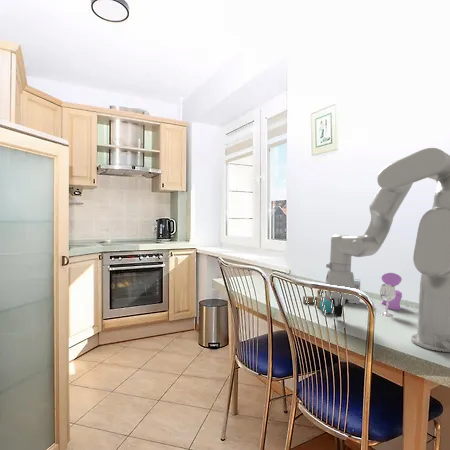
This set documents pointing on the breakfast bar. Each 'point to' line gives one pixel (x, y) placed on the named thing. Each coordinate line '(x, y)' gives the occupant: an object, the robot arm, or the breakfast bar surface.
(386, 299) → the wineglass
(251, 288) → the breakfast bar surface
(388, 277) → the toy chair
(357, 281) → the light bulb box
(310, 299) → the back rail
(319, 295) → the rear left pin
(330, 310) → the ball
